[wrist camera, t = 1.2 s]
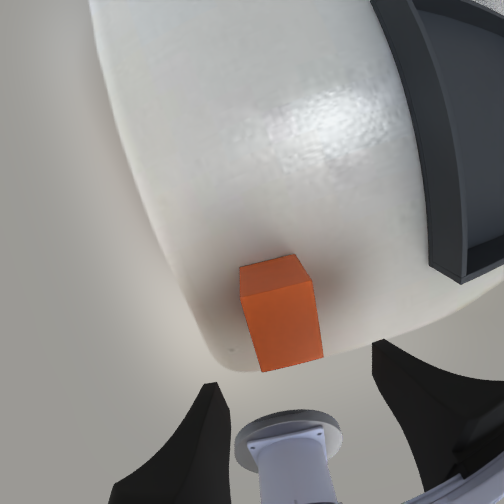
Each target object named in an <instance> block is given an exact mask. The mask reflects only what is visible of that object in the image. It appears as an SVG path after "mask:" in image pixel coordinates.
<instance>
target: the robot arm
mask: <svg viewBox="0 0 504 504" xmlns="http://www.w3.org/2000/svg"><path fill="white" fill-rule="evenodd" d="M372 376H373V378H374V380H375V382H376V385H377V387H378V389H379V391H380V393H381V395H382V396H383V398H384V400H385V401H386V403H387V404H388V406H389V408H390V409H391V411H392V412H393V414H394V416H395V417H396V419H397V421H398V422H399V424H400V426H401V428H402V430H403V432H404V434H405V436H406V439H407V440H408V443H409V446H410V448H411V450H412V453H413V456H414V459H415V461H416V464H417V467H418V470H419V474H420V477H421V480H422V484H423V487H424V492H425V493H423V494H421V495H419V496H417V497H415V498H413V499H411V500H408V501H406V502H404V503H402V504H495V503H497V502H498V501H499V500H501V499H502V498H503V497H504V381H490V380H480V379H475V378H469V377H465V376H461V375H457V374H453V373H450V372H447V371H445V370H442V369H439V368H437V367H434V366H432V365H430V364H428V363H426V362H423V361H422V360H419V359H418V358H415V357H414V356H412V355H410V354H408V353H407V352H405V351H403V350H402V349H400V348H398V347H397V346H395V345H393V344H392V343H390V342H388V341H387V340H385V339H382V340H379V341H376V342H373V343H372ZM230 440H231V420H230V410H229V408H228V406H227V404H226V401H225V399H224V397H223V395H222V392H221V390H220V388H219V386H218V384H217V382H214V383H208V384H204V385H203V386H202V388H201V390H200V392H199V394H198V396H197V398H196V399H195V401H194V403H193V405H192V406H191V408H190V410H189V411H188V413H187V415H186V417H185V418H184V419H183V421H182V422H181V424H180V425H179V427H178V428H177V430H176V431H175V432H174V434H173V435H172V436H171V438H170V439H169V440H168V441H167V442H166V443H165V445H164V446H163V447H162V448H161V449H160V450H159V451H158V452H157V453H156V454H155V455H154V456H153V457H152V458H151V459H150V460H149V461H147V462H146V463H145V464H144V465H142V466H141V467H140V468H139V469H137V470H136V471H134V472H133V473H132V474H130V475H128V476H127V477H125V478H124V479H122V480H120V481H119V482H117V483H115V484H114V486H113V488H112V491H111V495H110V498H109V502H108V504H231V497H230V485H229V455H230ZM247 447H248V449H249V451H250V453H251V455H252V457H253V459H254V461H255V463H256V464H257V466H258V471H259V483H260V497H261V504H342V502H340V503H338V502H337V498H336V495H335V491H334V487H333V484H332V480H331V476H330V473H329V469H328V466H327V465H328V462H327V452H326V444H325V436H324V429H323V427H322V426H318V427H314V428H310V429H306V430H302V431H298V432H294V433H289V434H285V435H280V436H275V437H270V438H264V439H258V440H252V441H248V442H247Z"/></svg>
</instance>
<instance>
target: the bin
mask: <svg viewBox="0 0 504 504" xmlns="http://www.w3.org/2000/svg"><path fill="white" fill-rule="evenodd" d="M370 2H371V4H372V6H373V8H374V10H375V12H376V14H377V17H378V19H379V21H380V23H381V26H382V28H383V30H384V33H385V35H386V38H387V40H388V43H389V46H390V48H391V51H392V54H393V56H394V59H395V62H396V65H397V68H398V71H399V74H400V77H401V80H402V84H403V87H404V90H405V94H406V98H407V101H408V105H409V109H410V113H411V117H412V121H413V126H414V130H415V135H416V140H417V145H418V150H419V156H420V162H421V168H422V175H423V182H424V190H425V199H426V209H427V221H428V239H429V266H431V267H432V268H434V269H436V270H437V271H439V272H441V273H442V274H444V275H446V276H447V277H449V278H451V279H452V280H454V281H455V282H457V283H459V284H460V285H461V284H464V283H466V282H468V281H470V280H472V279H475V278H477V277H479V276H481V275H483V274H485V273H487V272H489V271H491V270H493V269H495V268H497V267H499V266H501V265H503V264H504V16H503V15H501V14H499V13H497V12H495V11H493V10H491V9H489V8H487V7H485V6H483V5H480V4H478V3H476V2H474V1H471V0H371V1H370Z"/></svg>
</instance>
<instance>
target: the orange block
mask: <svg viewBox="0 0 504 504" xmlns="http://www.w3.org/2000/svg"><path fill="white" fill-rule="evenodd" d="M239 269H240V301H241V304H242V308H243V311H244V314H245V318H246V321H247V325H248V328H249V331H250V335H251V338H252V342H253V345H254V348H255V352H256V355H257V358H258V361H259V365H260V368H261V371H262V372H267V371H271V370H276V369H280V368H284V367H289V366H293V365H297V364H301V363H305V362H308V361H312V360H316V359H319V358H323V357H324V356H323V348H322V341H321V334H320V327H319V321H318V314H317V308H316V302H315V296H314V290H313V284H312V280H311V278H310V277H309V275H308V274H307V272H306V270H305V269H304V267H303V266H302V264H301V263H300V261H299V260H298V258H297V257H296V255H295V254H292V255H288V256H284V257H280V258H276V259H272V260H268V261H264V262H260V263H256V264H251V265H247V266H243V267H240V268H239Z"/></svg>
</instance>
